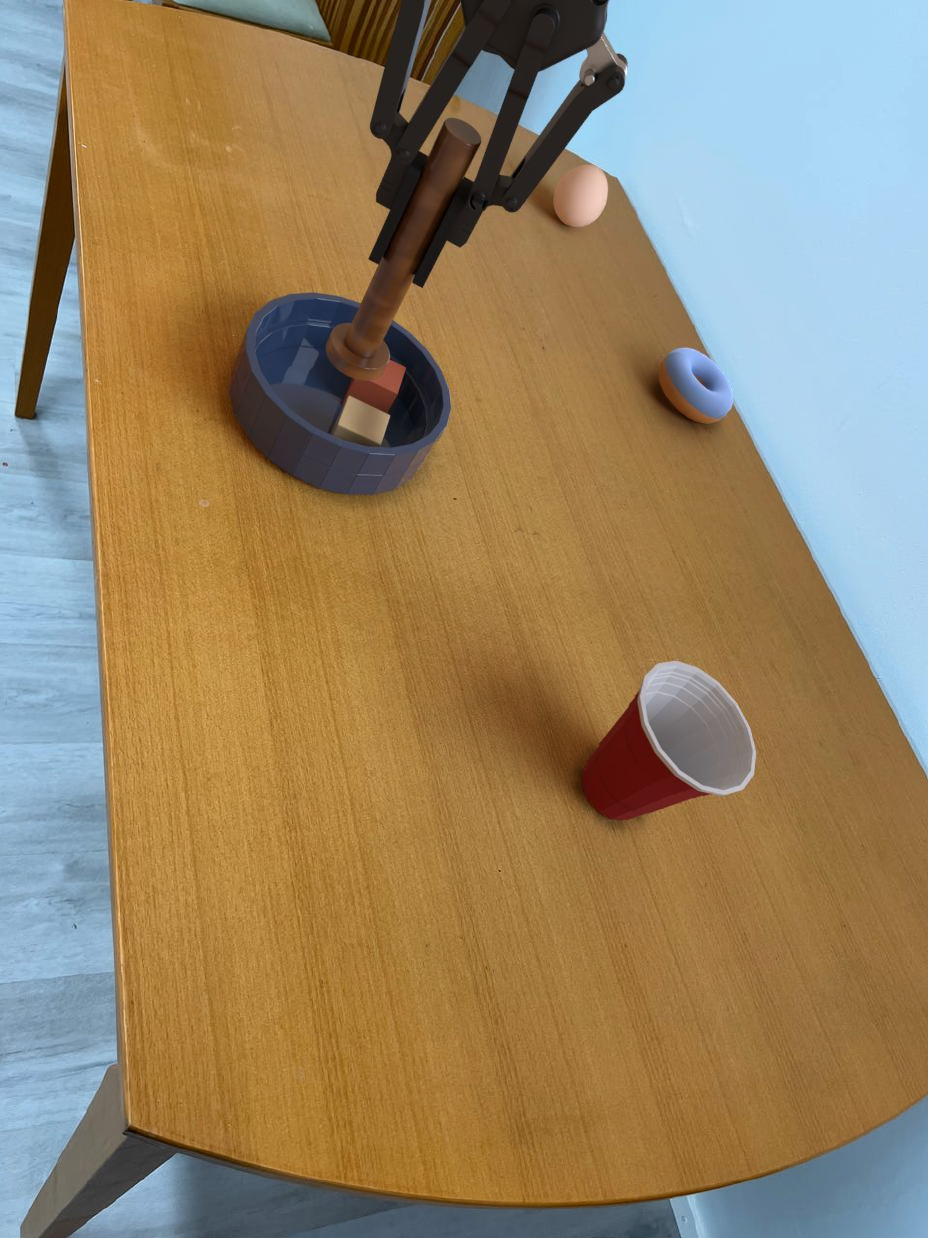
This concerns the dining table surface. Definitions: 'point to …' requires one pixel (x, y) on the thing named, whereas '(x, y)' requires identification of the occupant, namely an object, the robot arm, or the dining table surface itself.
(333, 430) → the birch block
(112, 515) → the dining table surface
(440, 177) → the muddler
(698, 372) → the doughnut
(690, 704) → the plastic cup
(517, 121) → the robot arm
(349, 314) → the bowl
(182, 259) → the dining table surface
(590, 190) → the egg
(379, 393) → the terracotta block
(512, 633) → the dining table surface
